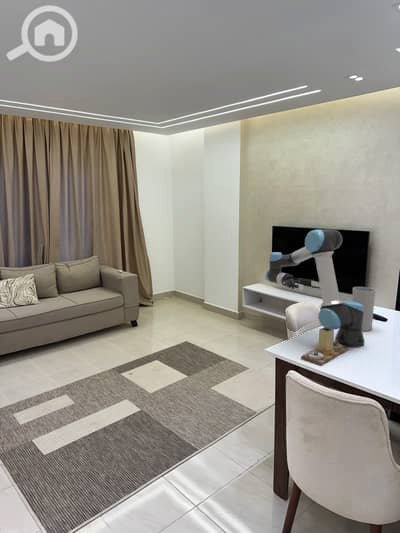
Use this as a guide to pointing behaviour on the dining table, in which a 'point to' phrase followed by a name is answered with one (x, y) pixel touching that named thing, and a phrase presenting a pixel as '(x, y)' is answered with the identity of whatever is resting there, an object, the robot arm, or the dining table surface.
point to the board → (323, 359)
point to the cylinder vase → (365, 304)
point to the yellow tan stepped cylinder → (326, 341)
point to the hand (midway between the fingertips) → (312, 286)
